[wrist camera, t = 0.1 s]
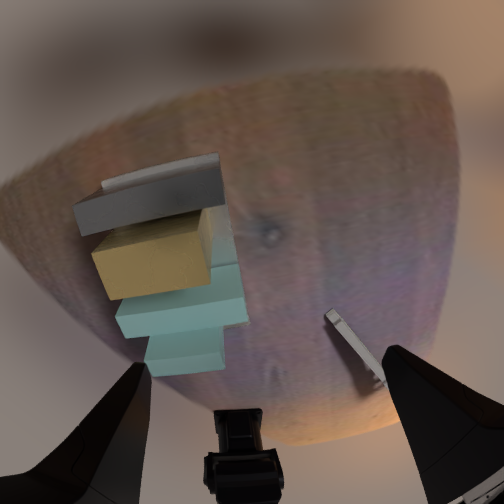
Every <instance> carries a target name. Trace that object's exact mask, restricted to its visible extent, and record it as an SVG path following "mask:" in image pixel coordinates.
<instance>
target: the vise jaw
mask: <svg viewBox="0 0 504 504" xmlns="http://www.w3.org/2000/svg"><path fill="white" fill-rule="evenodd" d="M115 318H116V320H117V322H118V324H119V326H120V328H121V330H122V332H123V334H124V336H125V338H135V337H144V336H150V338H149V342H148V346H147V350H146V354H145V358H144V362H145V363H146V364H147V366H148V369H149V371H150V373H151V375H152V376H153V377H157V376H169V375H180V374H190V373H199V372H207V371H214V370H222V369H225V356H224V336H223V326H224V325H230V324H236V323H241V322H247V321H248V316H247V310H246V304H245V298H244V291H243V285H242V280H241V275H240V270H239V264H232V265H227V266H221V267H216V268H211V284H209V285H203V286H197V287H191V288H186V289H180V290H174V291H168V292H161V293H155V294H149V295H143V296H136V297H130V298H123V300H122V302H121V305H120V307H119V309H118V311H117V313H116V315H115Z"/></svg>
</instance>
